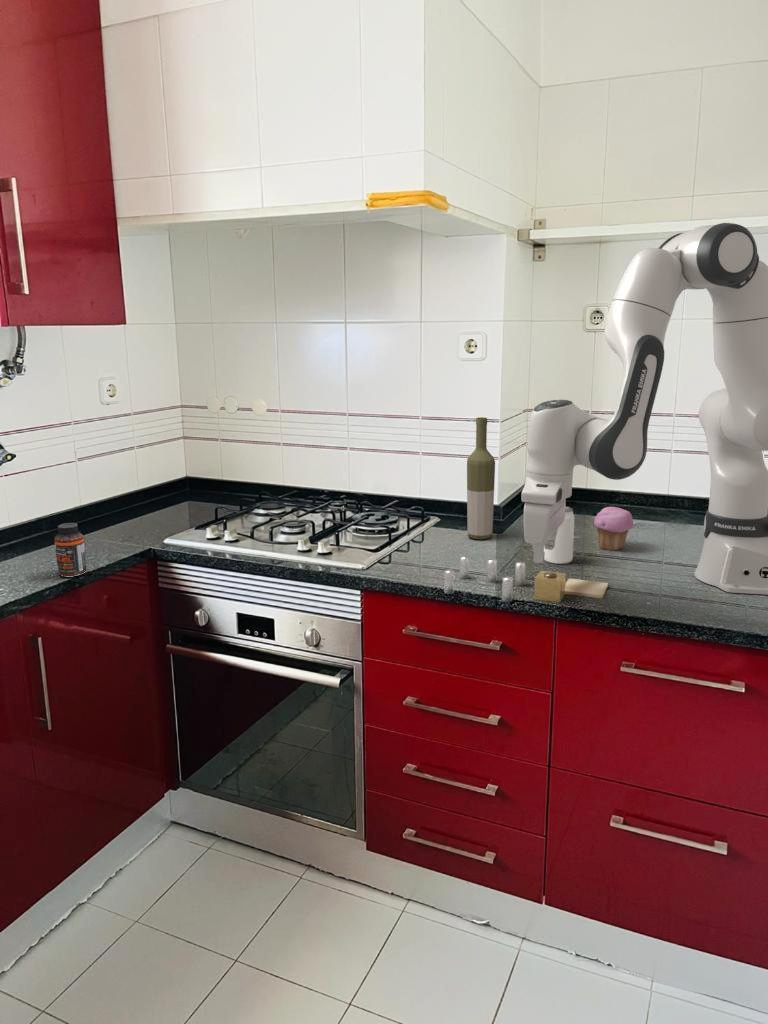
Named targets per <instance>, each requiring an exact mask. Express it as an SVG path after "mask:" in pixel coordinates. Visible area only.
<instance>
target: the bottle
mask: <svg viewBox="0 0 768 1024" xmlns="http://www.w3.org/2000/svg"><path fill="white" fill-rule="evenodd" d="M475 425H476V427H475V448H474V450H473V451H472V453H471V454H470V455H469V456H468V457H467V458H466V459H467V460H466V493H467V494H466V501H467V502H466V504H467V505H466V506H467V507H466V510H467V511H466V512H467V514H466V516H467V518H466V520H467V522H466V523H467V524H466V525H467V536H468V538H471V539H474V540H487V539H490V538H492V537H493V528H494V527H493V525H494V505H495V503H494V501H495V479H496V477H495V476H496V475H495V473H496V460H495V457H494V456H493V455H492V453H490V451H489V450H488V448H487V441H488V439H487V434H488V433H487V431H488V428H487V427H488V426H487V425H488V418H487V417H483V416H482V417H476V420H475Z"/></svg>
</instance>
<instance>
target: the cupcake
mask: <svg viewBox="0 0 768 1024" xmlns="http://www.w3.org/2000/svg"><path fill="white" fill-rule="evenodd" d="M593 524H594V527H595V528H596V531H597V535H598V546H599V547H600V549H601V550H606V549H607V551H617V550H620V549H621V548H624V546H625V544H626V540H627V535H628V533H629V530H631V529H632V528H633V527H634V518H633V516H632V513H631V512H630V511H628V510H626V509H623V508H620V507H616V506H606V507H604V508H602V509H601V510H600V511H599V512H598V513H597V514H596V516H595V517H594V522H593Z"/></svg>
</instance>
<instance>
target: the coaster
mask: <svg viewBox="0 0 768 1024" xmlns="http://www.w3.org/2000/svg"><path fill="white" fill-rule="evenodd" d="M608 587H609V582H604V581H602V582H601V581H595V580H587V579H586V580H583V579H578V578H576V579H575V578H570V577H569V578H568V579H567V581H565V595H572V596H579V597H587V598H595V599H603V597H604V595H605V593H606V592H607V589H608Z"/></svg>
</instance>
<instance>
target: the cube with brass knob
mask: <svg viewBox="0 0 768 1024" xmlns="http://www.w3.org/2000/svg"><path fill="white" fill-rule="evenodd" d="M565 584H566V572H558V571H549V570H548V571H547V570H539V572H538V573H537V575H536V576H535V577H534V589H533V590H534V592H533V593H534V594H533V595H534V596H533V600H538V601H539V600H540V601H544V602H552V603H560V602H561V601H562V600H563V598H564V596H565V595H566V594H565Z"/></svg>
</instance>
